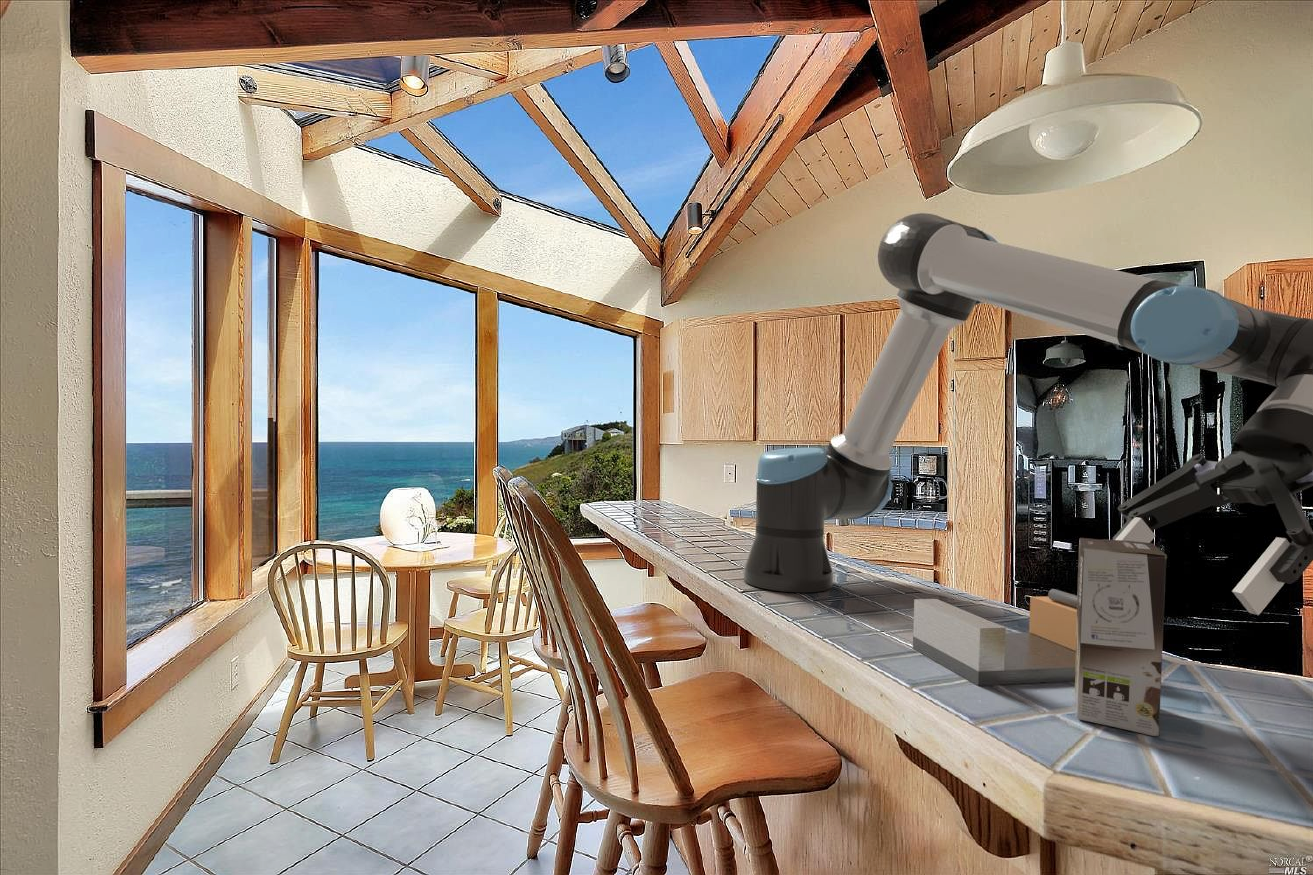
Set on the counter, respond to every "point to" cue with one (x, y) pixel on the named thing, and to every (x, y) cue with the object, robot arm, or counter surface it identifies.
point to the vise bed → (1016, 661)
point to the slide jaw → (1055, 617)
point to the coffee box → (1120, 634)
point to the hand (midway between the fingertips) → (1168, 585)
